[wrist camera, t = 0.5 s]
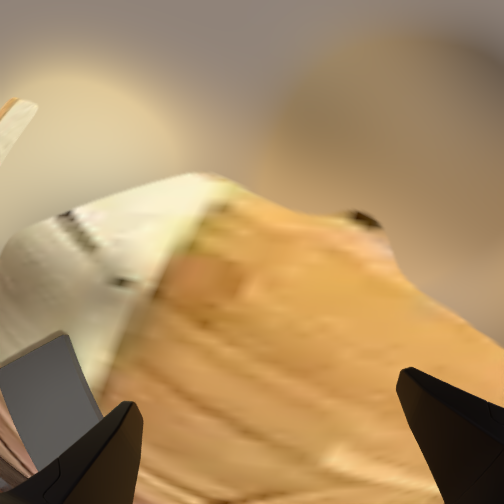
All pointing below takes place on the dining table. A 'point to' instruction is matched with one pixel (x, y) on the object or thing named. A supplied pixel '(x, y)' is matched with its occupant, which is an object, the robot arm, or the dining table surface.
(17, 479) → the socket block
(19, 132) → the dining table surface
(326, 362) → the dining table surface
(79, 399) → the mat
